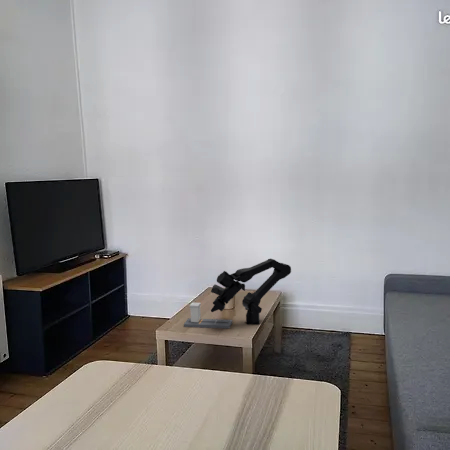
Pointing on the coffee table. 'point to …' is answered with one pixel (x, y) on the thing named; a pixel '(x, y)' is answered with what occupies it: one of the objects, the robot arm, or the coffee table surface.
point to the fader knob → (195, 312)
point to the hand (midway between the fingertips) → (211, 311)
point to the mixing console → (209, 323)
